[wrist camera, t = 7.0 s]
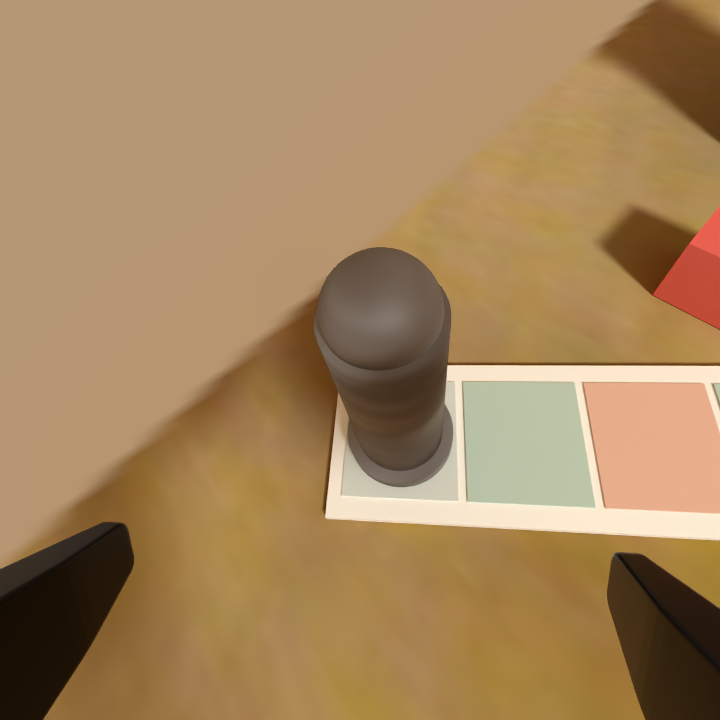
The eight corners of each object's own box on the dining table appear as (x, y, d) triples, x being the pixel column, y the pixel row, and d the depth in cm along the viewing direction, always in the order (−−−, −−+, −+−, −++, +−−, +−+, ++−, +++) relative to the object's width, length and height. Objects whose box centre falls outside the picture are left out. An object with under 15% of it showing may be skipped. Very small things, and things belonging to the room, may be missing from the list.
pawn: (378, 506, 21) (323, 395, 10) (334, 417, 23) (251, 248, 12) (472, 456, 21) (518, 298, 10) (420, 374, 24) (412, 176, 13)
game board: (326, 518, 21) (324, 517, 21) (342, 368, 25) (340, 364, 25) (932, 552, 18) (945, 551, 17) (843, 370, 21) (852, 365, 21)
